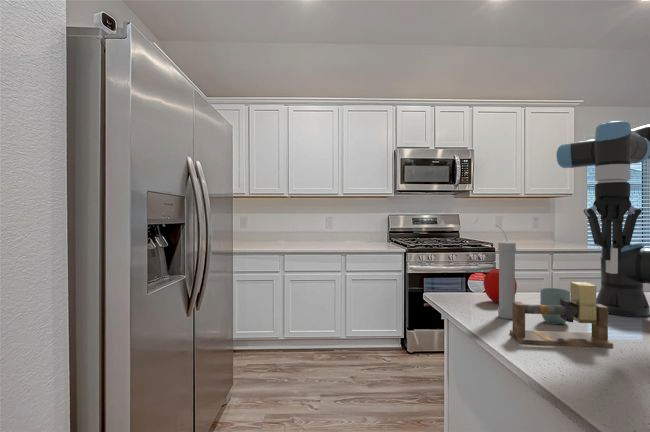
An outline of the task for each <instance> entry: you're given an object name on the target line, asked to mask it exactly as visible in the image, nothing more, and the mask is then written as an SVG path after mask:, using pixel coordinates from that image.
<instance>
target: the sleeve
mask: <svg viewBox="0 0 650 432" xmlns="http://www.w3.org/2000/svg"><path fill="white" fill-rule="evenodd" d="M569 291H570V302H572V303H573V306H578V315H573V321H575V322H577V323H579V324H592V323H595V324H596V298H597V285H595V284H594V283H593V284H592V283H589V282H586V281H585V282H582V281H581V282H580V281H570V289H569Z"/></svg>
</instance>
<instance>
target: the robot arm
mask: <svg viewBox="0 0 650 432" xmlns="http://www.w3.org/2000/svg"><path fill="white" fill-rule="evenodd" d="M595 127H596V128H595V133H594V134H595V135H594V139H587V140H582V141H575V142H569V143H564V144H561V145H559V146H558V148H557V150H556V161H557V164H558V165H559V167H561V168H563V169H570V168H571V169H573V168H575V169H576V168H583V167H591V166H595V167H594V181H595V182H597V183H596V184H595V185H594V201H593V205H592V206H590V207H589V208H584V209H583V213H584V215H585V216H586V217H587V220H588V224H589V227H590V232H591V236H592V240H593V242H594V243H593V244H594V245H597V246H600V247H601V252H600V253H601V254H600V289H599V290H598V292H597V293H598V294H597V295H596V304H601V305H603V306H606V307H608V315H609V314H610V315H616V316H626V317H647V316H650V305H649V301H648V300H647V297H646V294H645V292H644V284H647V285H650V247H645V245H644V244H643V242H636V243H634V242H633V243H631V242H632V239H633V235H634V231H635V228H636V227H635V226H636V223H637V219H638V218H639V216H640V215H641V213H642V209H641V208H636V207H634V206H633V205H632V201H631V200H630V198H631V183H630V182H628V181H630V180H631V164H639V163H642V162H645V161H646V160H648V159H650V124H646V125H641V126H639V127H635V128H632V127H631V123H630V122H629V121H626V120H614V121H607V122H604V123H600V124H599V125H597V126H595ZM597 213H598V214H599V216H600V221H601V226H600V223H599V218H598V216H597ZM626 213H627V215H626ZM625 215H626V218H625V219H624V217H625ZM624 220H625V222H624ZM623 223H624V225H623Z"/></svg>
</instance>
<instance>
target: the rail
mask: <svg viewBox="0 0 650 432" xmlns="http://www.w3.org/2000/svg"><path fill="white" fill-rule="evenodd" d="M526 314H527V315H528V314H529V315H542V314H554V315H567V306H561V305H540V304H524V303H523V302H521V301H515V302H513V319H512V329H509V335H511V336H512V337H513V338H514V339H515V341H517V342H518V343H519V344H520V345H521V344H522V345H544V346H545V345H546V346H566V347H567V346H570V347H572V346H573V347H589V346H591V347H592V348H593V347H595V348H596V347H598V348H614V343H613V342H611V341H610V340H609V313H608V307H606V306H603V305H601V304H596V324H595V323H591V332H579V331H577V332H576V331H554V330H553V331H551V330H550V331H549V330H526ZM573 315H578V306H573Z"/></svg>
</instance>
